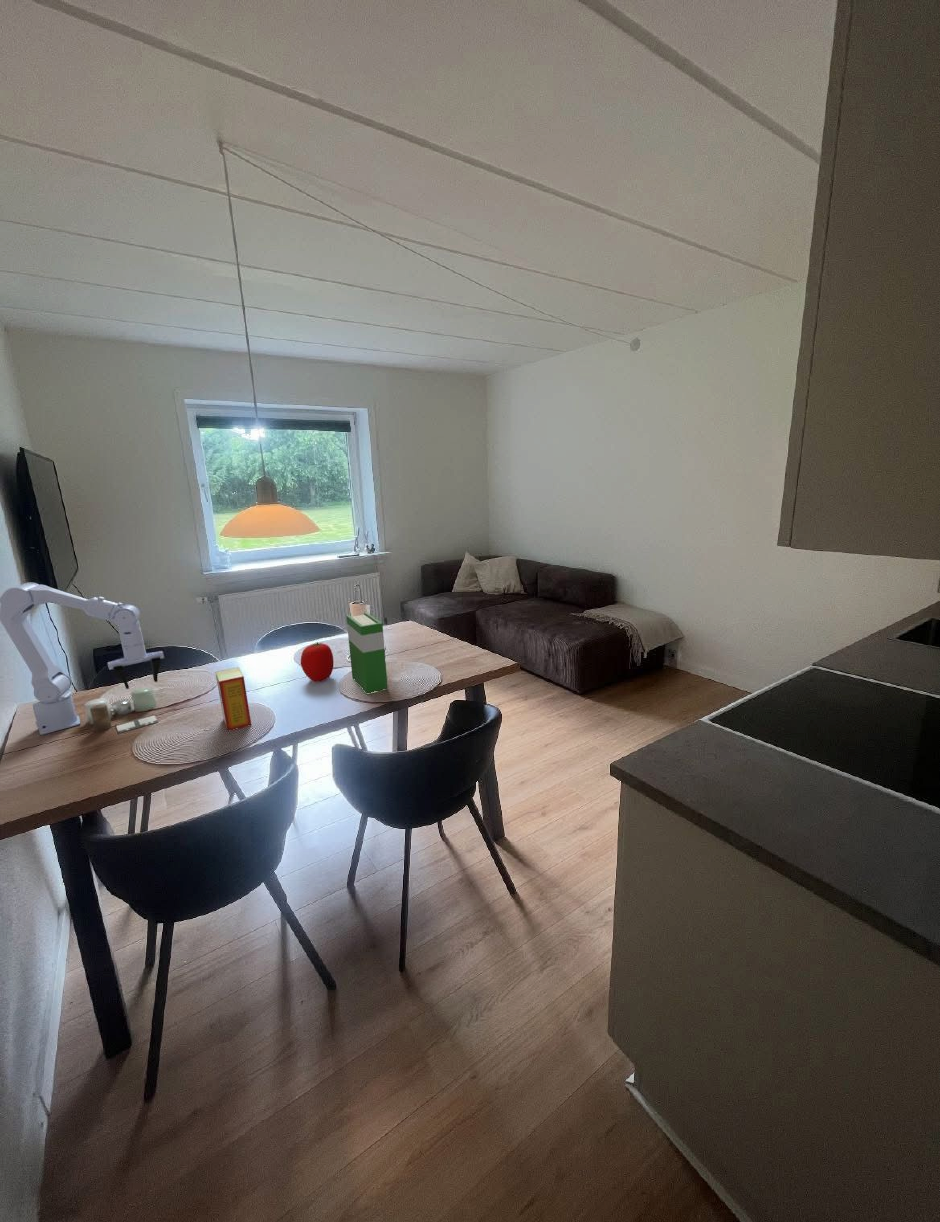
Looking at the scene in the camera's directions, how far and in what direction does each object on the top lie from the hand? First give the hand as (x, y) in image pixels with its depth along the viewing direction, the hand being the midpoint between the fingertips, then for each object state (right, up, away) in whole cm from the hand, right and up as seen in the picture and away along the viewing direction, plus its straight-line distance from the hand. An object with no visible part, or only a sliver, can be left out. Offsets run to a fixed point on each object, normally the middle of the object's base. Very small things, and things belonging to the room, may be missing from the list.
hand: (141, 684), depth 155 cm
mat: (+3, -11, -6) cm, 13 cm away
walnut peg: (-6, -12, -8) cm, 16 cm away
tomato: (+49, -2, +24) cm, 55 cm away
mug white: (-11, -11, -2) cm, 16 cm away
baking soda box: (+34, -11, -7) cm, 36 cm away
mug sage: (-2, -8, +5) cm, 10 cm away
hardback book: (+69, -3, +19) cm, 71 cm away
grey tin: (-7, -9, +2) cm, 12 cm away
